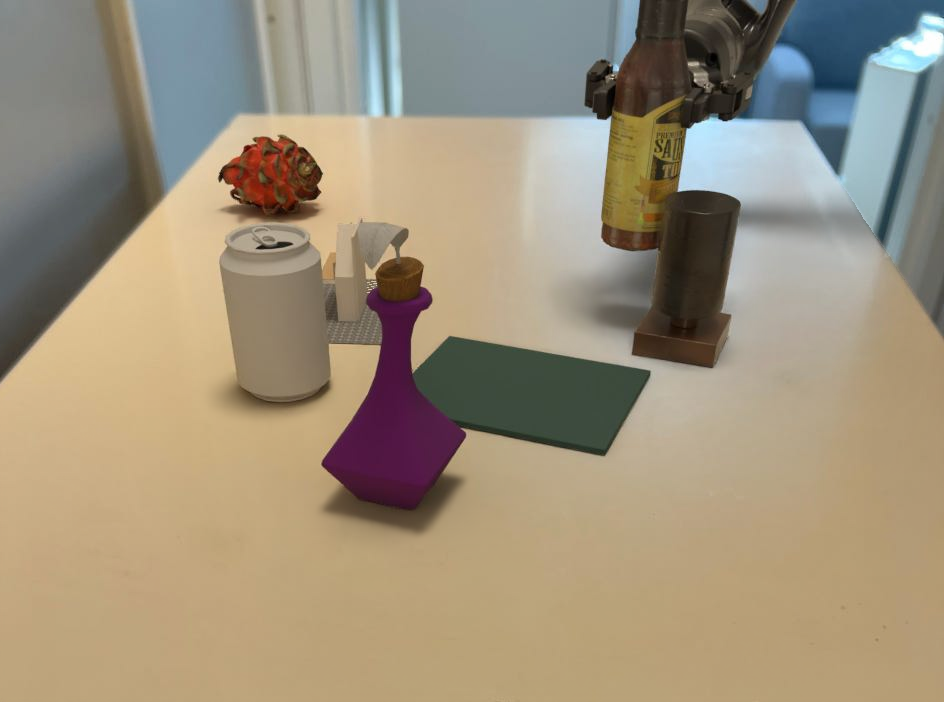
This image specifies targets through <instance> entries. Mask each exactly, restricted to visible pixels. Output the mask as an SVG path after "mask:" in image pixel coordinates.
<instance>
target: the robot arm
mask: <svg viewBox="0 0 944 702" xmlns="http://www.w3.org/2000/svg"><path fill="white" fill-rule="evenodd" d="M797 2H798V0H766V5H765V7H764V10H763V12H762V13H761V12H760V11H759V10H757V8H755V7H754V6H753V5H752V4H751V2H749V1H748V0H688V8H687V15H686V23H685V37H684V43H685V49H686V56H687V62H688V68H689V75H690V81H691V87H692V91H691V92H690V93H689V94H688V95H687V96H686V97H685V100H684V104H683V112H682V119H681V128H687V130H688V129H689V130H690V129H692V127H693V126H694V125H695V124H700V123H702V122H705V121H708V120H710V117H711V115H714V114H715V115H717V114H718V115H717V119H718V121H719V120H720V121H722V122H728V121H733V120H734V119H735V118H736V117H738V116H739V115H740V114H742V113H743V112H744V111H746V110H747V109H748V108H749V107H750V104H751V98H752V92H753V87H754V81H755V80H756V79H757V78H758V76H759V75H760V74H761V73H762V71H763V69H764V68H765V66H766V65H767V62H768V60H769V59H770V56H771V55H772V52H773V50H774V48H775V46H776V43H777V41H778V39H779V37H780V35H781V32H782V31H783V28H784V26H785V24H786V23H787V20H788V18H789V16H790V14H791V12H792V11H793V9H794V7H795V5H796V4H797ZM618 71H619V70H614V64H612V63H611V61H610V60H607V59H606V58H602V59H599V60H596V61H595V62H594V64H593V65H592V66H591V67H590V68H589V70H588V71H587V72H586V77H585V90H584V91H585V92H584V103H583V105H584V107H586V108H589V109H592V110H591V113H592V114H596V119H597V120H599V121H607V120H608V119H609V118H611V115H612V107H613V105H614V99H615V88H616V79H617V74H618Z"/></svg>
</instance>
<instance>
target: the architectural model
mask: <svg viewBox="0 0 944 702" xmlns="http://www.w3.org/2000/svg"><path fill="white" fill-rule="evenodd" d="M363 219H364V218H363V216H362V215H361V216H359V218H358V220H357V223H352V222H350V223H337V229H336V230H337V231H336V249H335V252H332V251H331V252H329V254H328V257H327V259H326V261H325V263H324V265H323V267H322V277H323V289H324V300H325V311H326V322H327V334H328V344H358V345H360V344H362V345H381V342H382V324H381V322H380V319H379V317H378V314H377V312H375V311H373V310H371V309H370V308H369V307H368V305H367V303H366V298H367V295H368V294H369V293H367V292H370V291H371V290H368V289H373V288H377V287H378V286H376V285H377V284H373V283H377V281H376V278H374V279H372V278H367V269H366V262H365V260H364V259H363V257H362V254H361V249H360V243H359V238H358V226H359V223H362V222H364V221H363ZM371 281H376V282H371ZM367 282H370V283H367ZM369 284H372V285H369ZM371 286H374V287H371ZM367 287H369V288H367Z"/></svg>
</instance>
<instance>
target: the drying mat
mask: <svg viewBox="0 0 944 702" xmlns="http://www.w3.org/2000/svg"><path fill="white" fill-rule="evenodd" d="M651 372H652V371H651V370H650V369H644V368H637V367H632V366H626V365H621V364H614V363H609V362H604V361H603V362H602V361H599V360H592V359H586V358H580V357H574V356H570V355H569V356H568V355H563V354H557V353H553V352H552V353H551V352H546V351H539V350H534V349H529V348H522V347H516V346H511V345H505V344H499V343H493V342H487V341H484V340H483V341H482V340H476V339H471V338H465V337H459V336H453V335H449V336H448V337H446V338H445V340H444V341H443V342H442V343H441V344H440V345H439V346H438V347H437V348H436V349H435V350H434V351H433V352H432V353H431V354H430V355H429V356H428V357H427V358H426V359H425V360H424V361H423V362H422V363H421V364H420V365H419V366H418V367H417V368H416V369H415V370H414V371H412V375H413V379H414V381H415V384H416V386H417V389H418V390H419V391H420V392H421V393H422V394H423V395H424V396H425V397H426V398H427V399H428V400H429V401H430V402H431V403H432V404H433V405H434V406H435V407H436V408H437V409H438V410H440V411H441V412H442V413H443V414H444V415H446V416H447V417H448V418H449V419H450V420H452V421H453V422H454V423H455V424H456V425H458V426H459V427H460V428H466V429H472V430H476V431H480V432H486V433H491V434H495V435H501V436H506V437H510V438H516V439H521V440H526V441H530V442H531V441H532V442H536V443H540V444H546V445H551V446H554V447H555V446H556V447H560V448H561V447H562V448H566V449H570V450H571V449H572V450H577V451H581V452H585V453H590V454H597V455H601V456H605V455H606V454H607V452H608V450H609V448H610V446H611V445H612V444H613V442H614V440H615V438H616V436H617V435H618V432H619V431H620V430H621V427H622V426H623V424H624V422H625V421H626V419H627V417H628V415H629V414H630V412H631V410H632V408H633V406H634V405H635V403H636V401H637V399H638V398H639V396H640V394H641V392H642V390H644V387H645V385H646V384H647V382H648V380H649V378H650V377H651Z"/></svg>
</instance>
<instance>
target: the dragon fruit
mask: <svg viewBox="0 0 944 702" xmlns="http://www.w3.org/2000/svg"><path fill="white" fill-rule="evenodd" d="M277 137H278V139H277V140H274V139H273V138H271V137H270V136H263V135H262V136H254V137H252V141H253V142H254V143H252V144H245V145H244V146H243V149H242V152H241V153H240V155H239V156H236V157H234V158H231V160H230V161H228V163H226V164H224V165H223V166H222V167H221V169H220V171H219V172H218V176H217V181H218V183H221V182H222V181H224V184H226V185H228V186H229V185H230V186H231V185H232V186H233V187H234V188H233V189H231V190H230V191H229V195H230V197H231V199H233V200H234V201H235V202H238V203H239V204H240V205H245V206H252V207H253V206H254V207H256V208H257V209H258V210H261V211H263V213H264V214H265V215H266V216H267V217H270V216H272V215H273V214H275V213H277V212H278V211H279V208H282V209H283V210H284V211H285V212H286V213H289V214H290V213H296V212H299V211H300V209H301V206H300V202H301V203H304V202H309V201H315V200H317V199H318V197H319V196H320V195H321V194H322V191H321V190H320V188H319V185H318V184H319V183H320V182H321V181H322V178H323V175H324V173H323V171H322V169H321V167H320V166H319V164H318V162H317V160H316V159H315V158H314V156H313V155H312V154H311V153H310V152H309V151H308V150H307V148H306V147H304V146H299V145H298V143H297V142H296V141H294V139H292V138H290V137H288V136H287V135H285V134H277Z"/></svg>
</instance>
